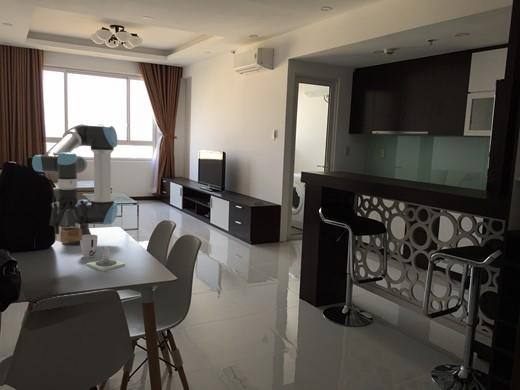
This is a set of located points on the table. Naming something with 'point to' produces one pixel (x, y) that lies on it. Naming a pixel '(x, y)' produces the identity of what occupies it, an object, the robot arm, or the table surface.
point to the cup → (88, 245)
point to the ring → (70, 234)
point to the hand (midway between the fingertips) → (68, 239)
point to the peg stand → (106, 262)
